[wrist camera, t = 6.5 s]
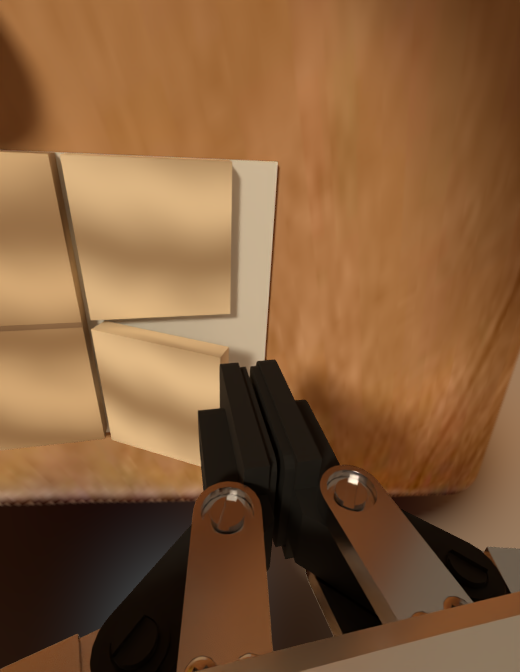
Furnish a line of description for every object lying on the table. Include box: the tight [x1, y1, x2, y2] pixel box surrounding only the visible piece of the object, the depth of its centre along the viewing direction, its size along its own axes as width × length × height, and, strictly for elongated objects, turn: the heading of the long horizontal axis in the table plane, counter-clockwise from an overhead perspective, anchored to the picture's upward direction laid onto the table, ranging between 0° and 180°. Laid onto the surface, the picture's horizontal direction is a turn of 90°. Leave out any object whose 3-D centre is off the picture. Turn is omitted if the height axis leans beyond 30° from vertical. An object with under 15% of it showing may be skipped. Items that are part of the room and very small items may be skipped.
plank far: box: [91, 321, 229, 466], centre depth 23 cm, size 8×8×1 cm
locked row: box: [0, 150, 107, 450], centre depth 21 cm, size 18×8×1 cm, turn 176°
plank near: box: [60, 153, 232, 320], centre depth 20 cm, size 8×8×1 cm
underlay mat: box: [5, 150, 278, 432], centre depth 23 cm, size 18×20×1 cm
